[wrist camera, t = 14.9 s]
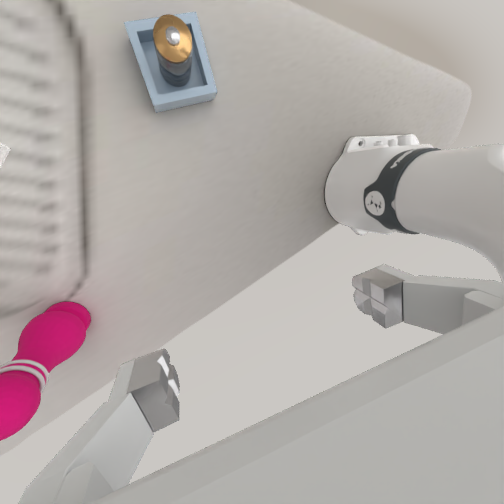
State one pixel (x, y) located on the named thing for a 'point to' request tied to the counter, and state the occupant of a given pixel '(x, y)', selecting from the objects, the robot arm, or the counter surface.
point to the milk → (3, 153)
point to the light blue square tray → (159, 90)
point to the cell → (173, 49)
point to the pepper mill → (38, 361)
